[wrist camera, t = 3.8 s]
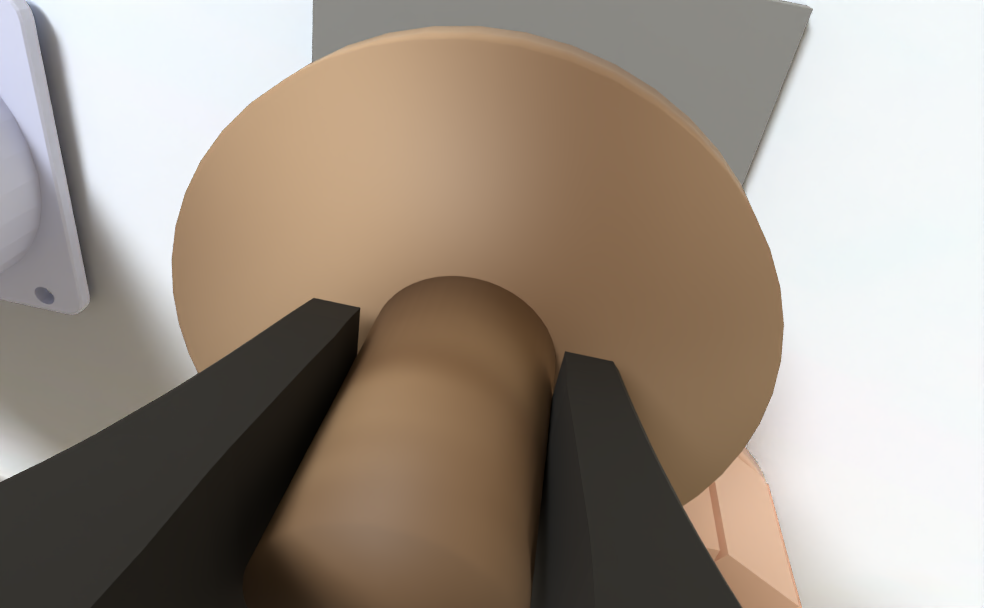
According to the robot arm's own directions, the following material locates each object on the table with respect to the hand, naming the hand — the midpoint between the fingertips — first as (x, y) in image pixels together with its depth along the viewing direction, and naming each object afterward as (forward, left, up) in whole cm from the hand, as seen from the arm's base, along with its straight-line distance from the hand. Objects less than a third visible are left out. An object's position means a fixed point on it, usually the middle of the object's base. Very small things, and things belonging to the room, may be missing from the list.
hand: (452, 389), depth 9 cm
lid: (0, 0, -2) cm, 2 cm away
